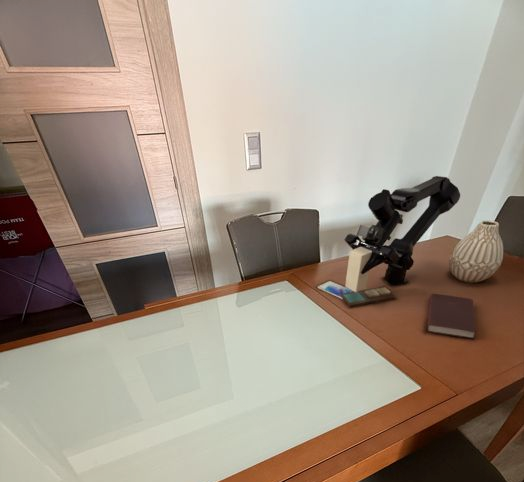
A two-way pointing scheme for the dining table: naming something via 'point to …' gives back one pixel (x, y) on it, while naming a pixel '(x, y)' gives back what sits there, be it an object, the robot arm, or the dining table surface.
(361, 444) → the dining table surface
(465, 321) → the book
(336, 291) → the smartphone
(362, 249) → the letter I
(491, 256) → the vase
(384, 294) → the word board
